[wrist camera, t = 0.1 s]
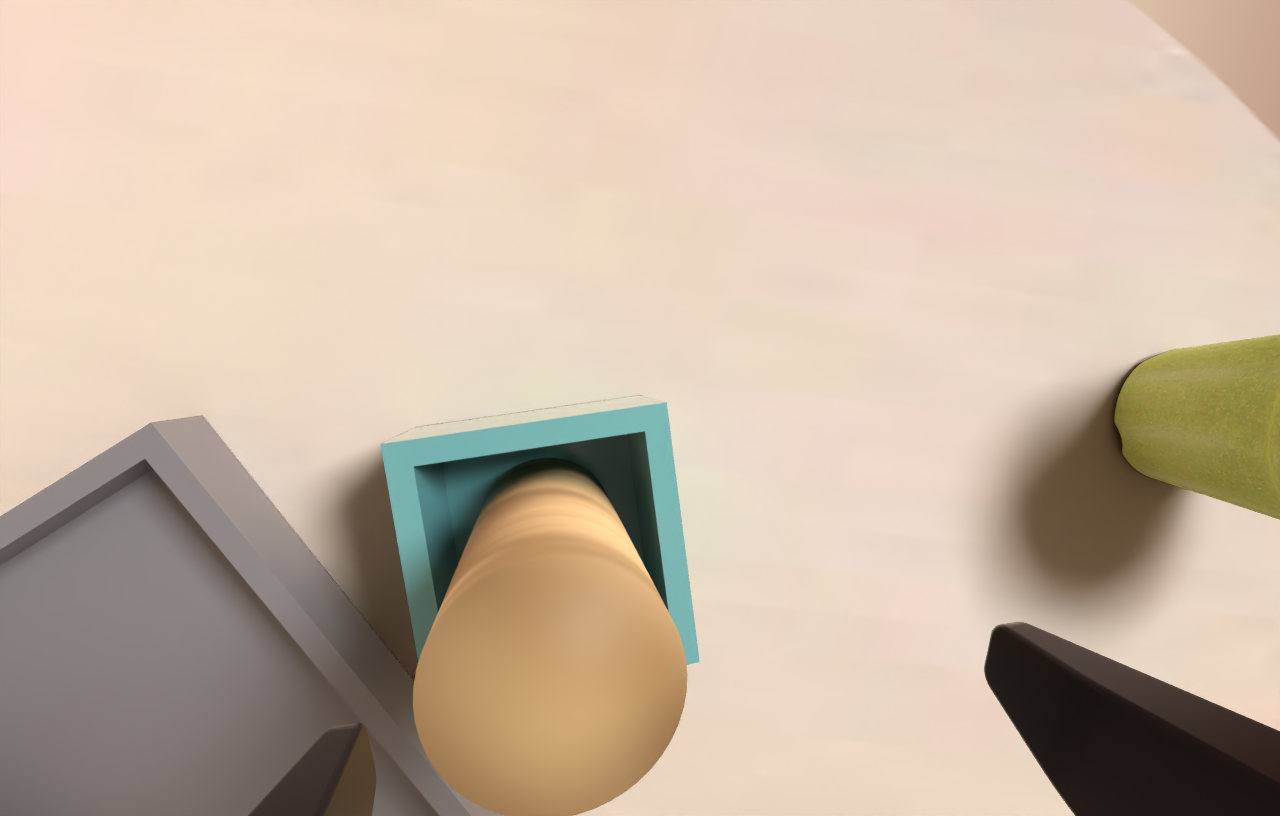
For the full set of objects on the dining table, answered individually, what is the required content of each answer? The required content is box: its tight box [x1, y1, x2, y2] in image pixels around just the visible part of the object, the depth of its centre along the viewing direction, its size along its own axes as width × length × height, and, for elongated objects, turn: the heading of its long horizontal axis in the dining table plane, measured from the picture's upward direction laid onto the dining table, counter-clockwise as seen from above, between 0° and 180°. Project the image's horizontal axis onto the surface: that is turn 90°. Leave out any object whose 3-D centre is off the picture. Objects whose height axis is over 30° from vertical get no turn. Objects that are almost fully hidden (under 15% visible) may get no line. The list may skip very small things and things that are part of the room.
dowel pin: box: [413, 457, 687, 816], centre depth 17 cm, size 5×5×12 cm
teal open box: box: [381, 395, 700, 665], centre depth 21 cm, size 9×9×5 cm
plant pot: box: [1114, 335, 1280, 519], centre depth 23 cm, size 9×9×9 cm
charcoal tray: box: [0, 415, 505, 816], centre depth 20 cm, size 20×14×3 cm
